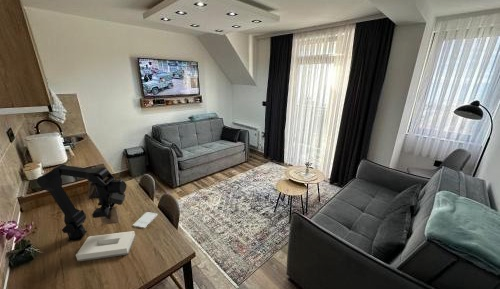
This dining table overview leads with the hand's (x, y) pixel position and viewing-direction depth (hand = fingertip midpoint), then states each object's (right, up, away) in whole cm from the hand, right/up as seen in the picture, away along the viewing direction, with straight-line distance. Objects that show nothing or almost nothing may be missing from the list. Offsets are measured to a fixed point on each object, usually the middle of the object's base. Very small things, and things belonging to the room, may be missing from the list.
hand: (110, 217), depth 110 cm
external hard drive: (+10, -9, +17) cm, 22 cm away
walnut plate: (0, -3, +1) cm, 4 cm away
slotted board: (+1, -15, -3) cm, 15 cm away
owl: (-37, +2, +42) cm, 56 cm away
